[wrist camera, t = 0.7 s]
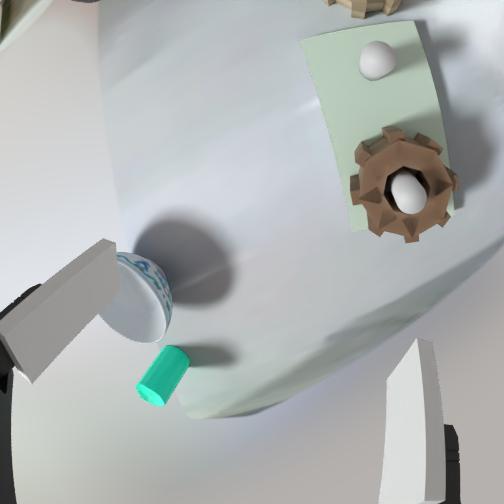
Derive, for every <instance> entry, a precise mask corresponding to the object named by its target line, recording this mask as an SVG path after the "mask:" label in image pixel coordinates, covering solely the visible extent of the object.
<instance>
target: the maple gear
mask: <svg viewBox="0 0 504 504" xmlns="http://www.w3.org/2000/svg"><path fill="white" fill-rule="evenodd" d="M323 1H324V2H325V3H326V4H327V5H328V6H330V5H331V4H333V3H335V2H336V3H338V4H340V5H343V6H345V7H347V8H349V9H351V10H352V17H353V18H359V19H364V17H365V12H370V11H377V10H382V11H383V12H384V13H385V14H386V15H387V16H388V15H390V14H392V13H394V12H395V11H397V9H398V7H399V5H400V3H401V1H402V0H323Z"/></svg>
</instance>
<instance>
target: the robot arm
mask: <svg viewBox="0 0 504 504" xmlns="http://www.w3.org/2000/svg"><path fill="white" fill-rule="evenodd" d="M73 1H76V2H83V3H92V2H97V1H99V0H73ZM120 291H121V289H120V281H119V272H118V263H117V253H116V243H114V242H112V241H109V240H106V239H102V240H100V241H99V242H98V243H96V244H95V245H93V246H92V247H90V248H89V249H88V250H86V251H85V252H84V253H82V254H81V255H80V256H78V257H77V258H76V259H74V260H73V261H72V262H70V263H69V264H68V265H66V266H65V267H64V268H63V269H62V270H60V271H59V272H58V273H56V274H55V275H54V276H52V277H51V278H50V279H49V280H47V281H46V282H45V283H44V284H37V285H35V286H33V287H31V288H29V289H28V290H26V291H25V292H24V293H23V294H22V295H21V296H20V297H18V298H17V299H16V300H14V303H11V304H10V305H9V306H7V307H6V308H5V309H4V310H3V311H2V312H0V504H17V503H16V496H15V488H14V479H13V469H12V451H11V404H12V388H13V376H14V375H13V370H12V368H13V367H14V366H16V368H17V370H18V371H19V373H20V374H21V375H22V376H23V377H24V378H25V379H26V380H28V381H29V382H30V383H31V384H33V382H34V381H35V380H36V379H37V378H38V377H39V376H40V375H41V373H42V372H43V371H44V370H45V369H46V368H47V367H48V366H49V365H50V363H51V362H52V361H53V360H54V359H55V358H56V357H57V356H58V355H59V354H60V353H61V352H62V350H63V349H64V348H65V347H66V346H67V345H68V344H69V343H70V342H71V341H72V340H73V339H74V338H75V337H76V336H77V335H78V334H79V333H80V332H81V330H82V329H83V328H84V327H85V326H86V325H87V324H88V323H89V322H90V321H91V320H92V319H93V318H94V317H95V316H96V315H97V314H98V313H99V312H100V311H101V310H102V309H103V308H104V307H105V306H106V305H107V304H108V303H109V302H110V301H111V300H112V299H113V298H114V297H115V296H116V295H117V294H118V293H119V292H120ZM458 451H459V444H458V436H457V434H456V431H455V429H454V427H453V425H446V424H444V423H443V411H442V402H441V393H440V386H439V379H438V372H437V365H436V359H435V354H434V349H433V343H432V342H431V341H427V340H423V339H419V338H416V340H415V342H414V343H413V344H412V346H411V347H410V349H409V350H408V352H407V353H406V355H405V356H404V357H403V359H402V360H401V361H400V363H399V364H398V366H397V367H396V368H395V370H394V371H393V372H392V374H391V375H390V376H389V378H388V379H387V412H386V436H385V450H384V461H383V472H382V481H381V489H380V496H379V504H461V501H460V463H459V460H460V459H459V453H458Z"/></svg>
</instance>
